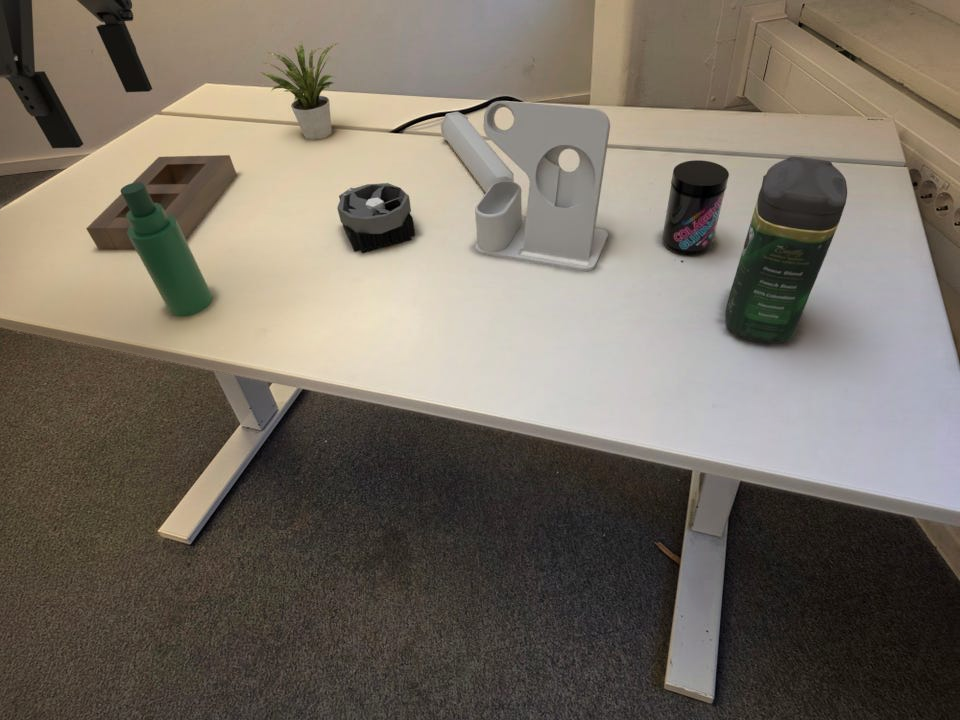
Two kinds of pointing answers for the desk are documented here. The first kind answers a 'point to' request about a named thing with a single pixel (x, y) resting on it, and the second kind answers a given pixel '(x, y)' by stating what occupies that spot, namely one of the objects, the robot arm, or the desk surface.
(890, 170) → the desk surface
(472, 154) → the tube
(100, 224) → the bottle holder
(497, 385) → the desk surface
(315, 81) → the house plant
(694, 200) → the supplement container
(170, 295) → the bottle
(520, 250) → the phone holder
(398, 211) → the cpu cooler
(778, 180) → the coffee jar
